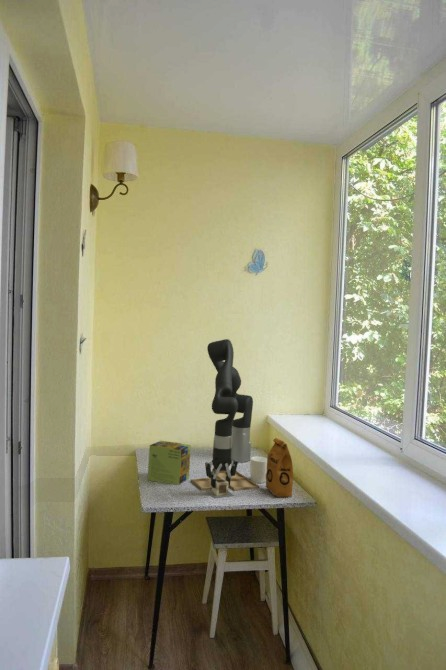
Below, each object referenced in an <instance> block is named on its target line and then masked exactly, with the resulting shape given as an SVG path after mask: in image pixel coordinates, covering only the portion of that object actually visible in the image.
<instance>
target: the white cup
mask: <svg viewBox="0 0 446 670" xmlns="http://www.w3.org/2000/svg"><path fill="white" fill-rule="evenodd" d="M249 464H250V473H249V474H250V480H251V481H253V482H254V483H256V484H264V483H266V472H267V457H265V456H250V463H249Z"/></svg>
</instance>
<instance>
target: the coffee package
mask: <svg viewBox="0 0 446 670" xmlns="http://www.w3.org/2000/svg"><path fill="white" fill-rule="evenodd" d="M273 442H274V443H273V445H272V446H271V448H270V451H269V452H268V454H267V457H266V458H267V472H266V482H265V488H266V489H267V490H268V491H269V492H271V494H272V495H274V496H275V497H277V498H279V497H280V498H289V497H293V484H294V483H293V482H294V469H293V468H294V467H293V459H292V456H291V454H290V450H289V447H288V444H287V443H286V442H285V441H284V440H282V439H279V438H277V437H275V438H273Z"/></svg>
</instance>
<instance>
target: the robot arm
mask: <svg viewBox="0 0 446 670" xmlns="http://www.w3.org/2000/svg"><path fill="white" fill-rule="evenodd" d="M206 350H207V353H208V357H209V359H210V361H211V363H212V365H213V366H214V369H215V370H216V371H217V374H216V376H215V382H214V383H215V387H214V388H215V393H214V397H213V400H212V403H211V411H212V413H214V414H215V415H227V416H226V417H225V418H221V419H217V420H216V421H215V423H214V436H213V445H212V447H213V448H212V460H211V461H210V462H207V461H206V462H205V463H204V465H205V474H206V477H207V478H211V486H212V487H213V488H215V487H216V479H215V478H216V476H217V474H218V473H219V471H225V473H226V479H225V480H226V481H228V482H229V485H230V479H231V476H235V473H236V471H237V468H238V465H239V464H238V463H246V462H251V451H252V442H251V440H250V439H251V428H252V427H251V426H252V425H251V424H252V423H251V422H252V416H253V406H254V400H253V396H251V395H249V394H240V393H237V392H238V391H239V389H240V388H241V384H242V379H241V376H240V373H239V371H238V370H237V368H235V367H234V366H233V365H234V353H235V352H234V347H233V343H232V341H231V340H230V339H228V338H227V339H226V338H225V339H221V340H215V341H212V342H209V343H208V345H207V349H206ZM237 413H239V414H243V416H242V417H239V418H235V417H236V414H237ZM230 465H231V467H230ZM212 466H213V468H212ZM230 470H231V471H230ZM211 471H212V473H211ZM229 485H228V488H229Z"/></svg>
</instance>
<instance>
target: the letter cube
mask: <svg viewBox="0 0 446 670" xmlns="http://www.w3.org/2000/svg"><path fill="white" fill-rule="evenodd" d="M228 485H229V482H228V481H226V480H225V479H216V487H215V488H213V487H212V492H213V493H214V494H215V495H217V496H219V495H228V491H229V487H228Z"/></svg>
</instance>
